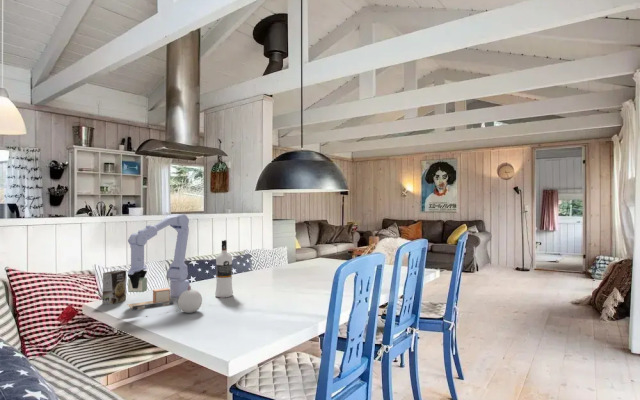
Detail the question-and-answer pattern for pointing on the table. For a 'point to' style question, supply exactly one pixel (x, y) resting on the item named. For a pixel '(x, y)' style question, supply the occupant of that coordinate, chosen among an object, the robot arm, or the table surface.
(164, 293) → the salmon rectangular block
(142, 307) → the tan panel metal trim
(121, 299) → the coffee box
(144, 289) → the sage tin
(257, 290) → the table surface
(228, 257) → the vodka
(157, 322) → the table surface
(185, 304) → the ornament
